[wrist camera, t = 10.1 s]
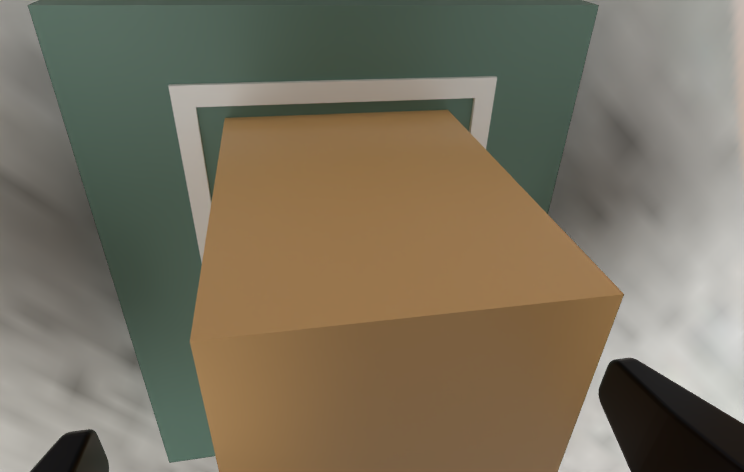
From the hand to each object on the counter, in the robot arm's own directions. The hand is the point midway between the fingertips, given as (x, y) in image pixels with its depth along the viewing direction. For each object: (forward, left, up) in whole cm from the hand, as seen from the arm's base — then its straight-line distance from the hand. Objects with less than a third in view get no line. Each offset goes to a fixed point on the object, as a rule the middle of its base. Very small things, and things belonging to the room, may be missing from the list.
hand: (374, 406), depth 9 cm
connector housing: (0, 0, -4) cm, 4 cm away
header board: (0, 0, -5) cm, 5 cm away
